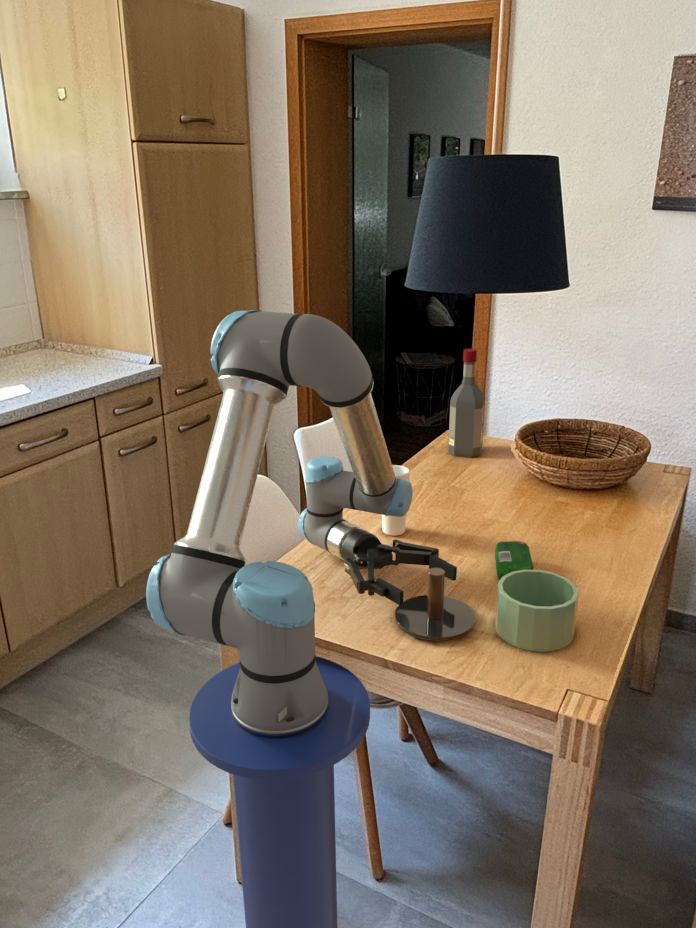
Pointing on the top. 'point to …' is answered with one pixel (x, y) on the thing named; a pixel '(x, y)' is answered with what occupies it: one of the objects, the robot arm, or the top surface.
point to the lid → (435, 612)
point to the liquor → (467, 412)
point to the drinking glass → (394, 523)
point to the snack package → (512, 557)
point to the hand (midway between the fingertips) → (429, 586)
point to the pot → (536, 610)
